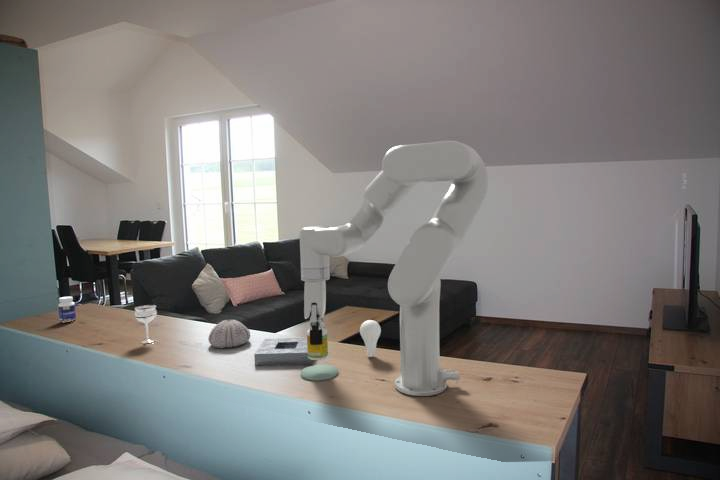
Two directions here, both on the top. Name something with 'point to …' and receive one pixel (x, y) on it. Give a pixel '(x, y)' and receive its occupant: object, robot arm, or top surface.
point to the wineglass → (146, 316)
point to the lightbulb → (370, 335)
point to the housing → (282, 352)
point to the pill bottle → (66, 309)
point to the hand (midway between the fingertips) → (317, 340)
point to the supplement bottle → (318, 350)
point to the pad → (319, 372)
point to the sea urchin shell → (229, 334)
